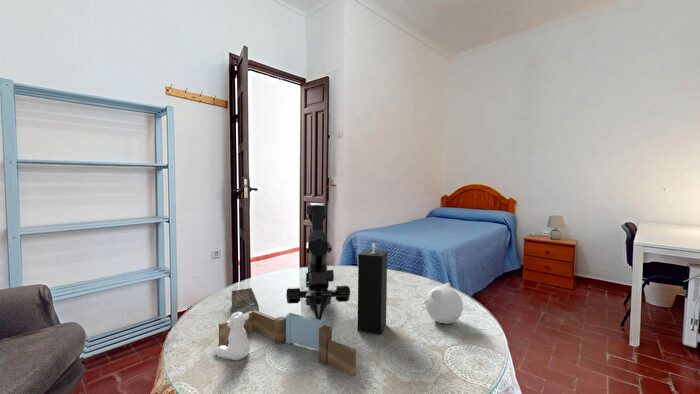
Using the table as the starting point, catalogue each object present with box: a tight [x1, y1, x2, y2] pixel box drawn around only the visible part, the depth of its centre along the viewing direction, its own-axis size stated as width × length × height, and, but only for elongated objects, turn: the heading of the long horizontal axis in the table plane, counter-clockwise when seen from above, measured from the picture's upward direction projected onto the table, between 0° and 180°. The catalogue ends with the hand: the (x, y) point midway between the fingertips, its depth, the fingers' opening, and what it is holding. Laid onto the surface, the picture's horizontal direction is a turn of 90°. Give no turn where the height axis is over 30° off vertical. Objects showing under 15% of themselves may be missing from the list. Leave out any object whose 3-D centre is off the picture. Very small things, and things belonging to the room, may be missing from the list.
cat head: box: [420, 282, 464, 325], centre depth 103 cm, size 15×13×12 cm
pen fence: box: [218, 310, 357, 376], centre depth 82 cm, size 14×40×9 cm, turn 55°
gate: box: [285, 312, 330, 351], centre depth 86 cm, size 13×2×8 cm, turn 65°
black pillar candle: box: [357, 242, 388, 335], centre depth 98 cm, size 8×8×28 cm
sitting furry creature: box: [214, 312, 251, 361], centre depth 82 cm, size 10×9×12 cm
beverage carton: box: [231, 287, 260, 314], centre depth 109 cm, size 8×19×6 cm, turn 25°
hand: (318, 323), depth 86 cm, fingers closed
